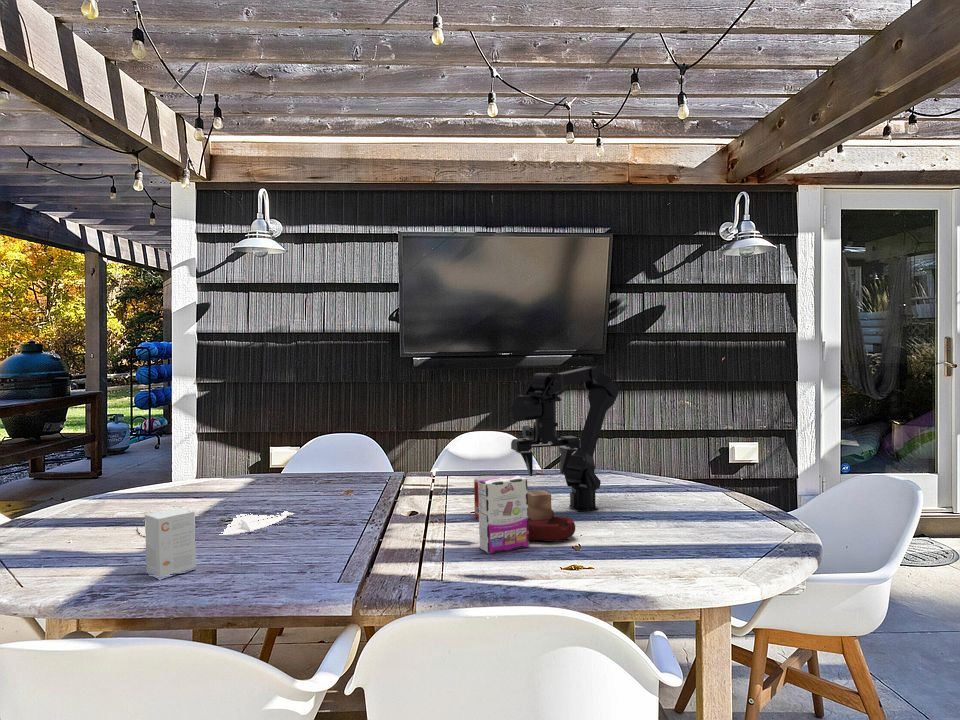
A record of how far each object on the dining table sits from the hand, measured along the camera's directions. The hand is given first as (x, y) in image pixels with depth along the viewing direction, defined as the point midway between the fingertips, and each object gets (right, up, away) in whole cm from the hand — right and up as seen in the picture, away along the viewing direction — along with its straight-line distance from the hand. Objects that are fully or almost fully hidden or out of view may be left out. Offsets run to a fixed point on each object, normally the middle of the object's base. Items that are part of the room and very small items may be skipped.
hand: (546, 474), depth 181 cm
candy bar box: (-13, -13, -27) cm, 32 cm away
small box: (-85, -14, -41) cm, 95 cm away
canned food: (-16, -13, +2) cm, 20 cm away
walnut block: (-4, -8, -17) cm, 19 cm away
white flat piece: (-92, -14, +2) cm, 93 cm away
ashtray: (-5, -13, -17) cm, 22 cm away
